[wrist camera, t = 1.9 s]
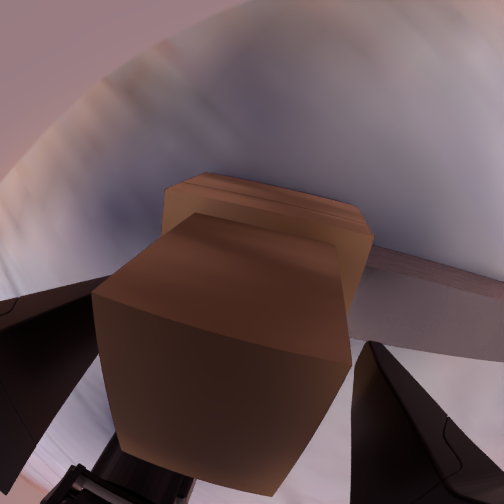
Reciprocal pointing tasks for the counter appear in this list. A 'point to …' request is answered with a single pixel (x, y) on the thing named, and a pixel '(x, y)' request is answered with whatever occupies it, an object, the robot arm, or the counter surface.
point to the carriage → (231, 329)
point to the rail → (427, 307)
